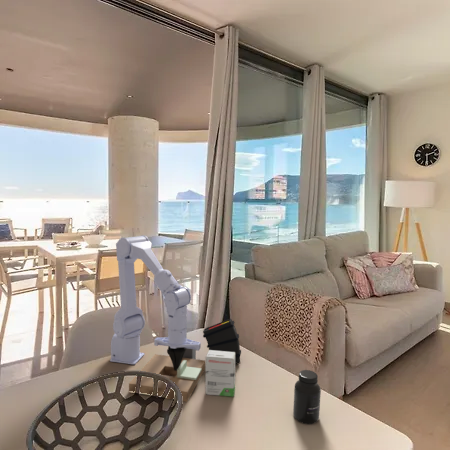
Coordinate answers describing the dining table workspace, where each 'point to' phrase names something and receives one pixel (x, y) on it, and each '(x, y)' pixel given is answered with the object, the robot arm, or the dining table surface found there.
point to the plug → (190, 353)
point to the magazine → (223, 338)
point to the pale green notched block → (188, 371)
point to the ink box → (220, 373)
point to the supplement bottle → (307, 397)
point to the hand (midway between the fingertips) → (177, 369)
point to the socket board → (165, 367)
